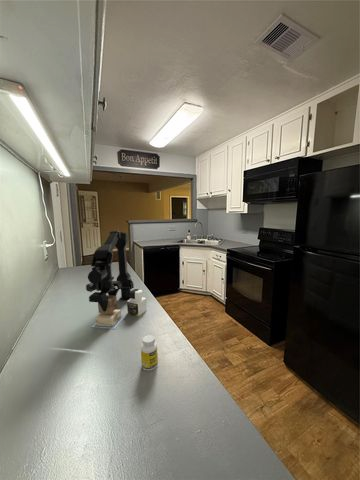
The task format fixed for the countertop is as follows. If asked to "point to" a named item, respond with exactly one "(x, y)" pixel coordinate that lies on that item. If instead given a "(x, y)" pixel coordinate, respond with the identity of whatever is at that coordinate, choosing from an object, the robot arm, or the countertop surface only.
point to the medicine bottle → (136, 303)
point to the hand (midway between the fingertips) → (108, 308)
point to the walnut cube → (109, 305)
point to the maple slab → (108, 318)
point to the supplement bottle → (149, 353)
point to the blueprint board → (109, 326)
